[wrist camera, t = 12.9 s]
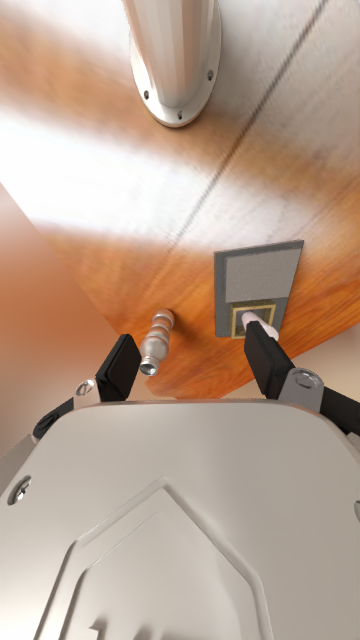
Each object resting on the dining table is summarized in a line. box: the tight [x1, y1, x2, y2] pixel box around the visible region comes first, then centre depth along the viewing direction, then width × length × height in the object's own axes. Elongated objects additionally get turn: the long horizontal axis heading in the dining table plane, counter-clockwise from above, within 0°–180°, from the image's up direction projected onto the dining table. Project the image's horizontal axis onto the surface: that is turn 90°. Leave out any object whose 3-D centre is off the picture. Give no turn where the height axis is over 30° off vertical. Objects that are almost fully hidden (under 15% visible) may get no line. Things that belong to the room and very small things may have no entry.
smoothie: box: [242, 312, 279, 341], centre depth 33 cm, size 6×6×14 cm
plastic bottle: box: [139, 309, 175, 376], centre depth 35 cm, size 6×7×20 cm
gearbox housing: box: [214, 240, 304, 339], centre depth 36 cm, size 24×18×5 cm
